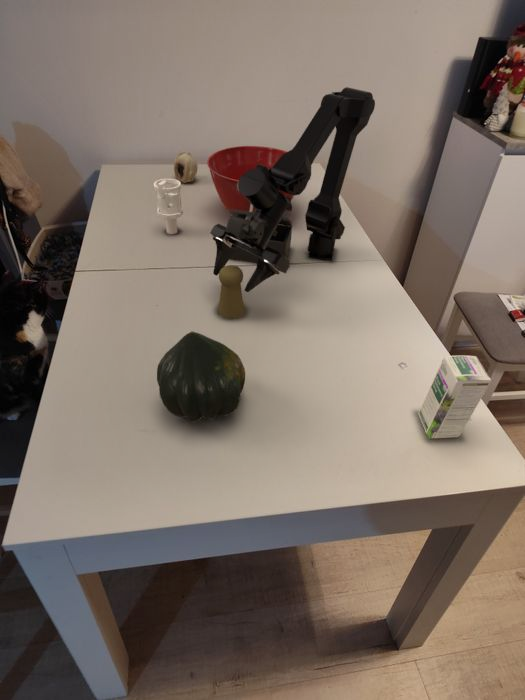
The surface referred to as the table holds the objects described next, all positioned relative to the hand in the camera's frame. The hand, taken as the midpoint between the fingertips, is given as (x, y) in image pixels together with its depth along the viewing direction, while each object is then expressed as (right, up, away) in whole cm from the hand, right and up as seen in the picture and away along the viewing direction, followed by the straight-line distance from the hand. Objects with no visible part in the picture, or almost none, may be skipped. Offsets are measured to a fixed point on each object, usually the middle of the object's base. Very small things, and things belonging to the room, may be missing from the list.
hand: (230, 283), depth 95 cm
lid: (+7, +19, +18) cm, 27 cm away
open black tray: (+6, +12, +24) cm, 28 cm away
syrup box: (+38, -28, -17) cm, 50 cm away
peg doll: (0, -6, +5) cm, 8 cm away
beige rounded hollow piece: (-19, +48, +56) cm, 77 cm away
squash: (-4, -24, -15) cm, 28 cm away
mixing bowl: (+5, +28, +43) cm, 52 cm away
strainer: (-19, +19, +32) cm, 42 cm away
